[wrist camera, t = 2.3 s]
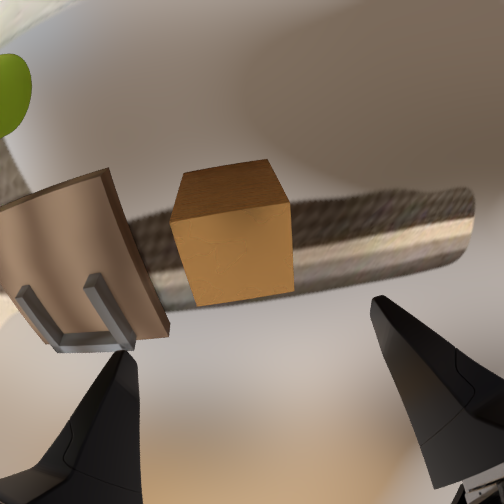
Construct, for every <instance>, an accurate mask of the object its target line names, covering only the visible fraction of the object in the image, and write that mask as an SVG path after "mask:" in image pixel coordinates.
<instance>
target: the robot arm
mask: <svg viewBox="0 0 504 504" xmlns="http://www.w3.org/2000/svg"><path fill="white" fill-rule="evenodd" d="M370 317H371V321H372V323H373V327H374V330H375V333H376V335H377V339H378V342H379V345H380V348H381V351H382V354H383V357H384V359H385V361H386V363H387V366H388V368H389V370H390V372H391V375H392V377H393V380H394V382H395V384H396V387H397V389H398V392H399V394H400V396H401V398H402V401H403V404H404V406H405V408H406V411H407V414H408V416H409V418H410V421H411V424H412V427H413V429H414V432H415V434H416V437H417V440H418V443H419V445H420V448H421V451H422V454H423V457H424V459H425V463H426V466H427V469H428V472H429V475H430V478H431V481H432V484H433V487H434V489H438V488H441V487H445V486H447V485H450V484H453V483H456V482H459V481H462V482H463V483H462V484H461V485H460V487H459V489H458V491H457V493H456V495H455V497H454V499H453V501H452V503H451V504H504V379H503V378H501V377H499V376H498V375H496V374H494V373H493V372H491V371H489V370H488V369H486V368H484V367H483V366H481V365H480V364H478V363H477V362H475V361H474V360H472V359H471V358H469V357H468V356H466V355H465V354H464V353H463V352H461V351H460V350H459V349H457V348H455V347H454V346H453V345H452V344H451V343H449V342H447V340H445V339H444V338H443V337H441V336H440V335H439V334H437V333H436V332H435V331H433V330H432V329H430V328H429V327H428V326H426V325H425V324H424V323H422V322H421V321H419V320H418V319H417V318H415V317H414V316H413V315H411V314H410V313H408V312H407V311H405V310H404V309H403V308H401V307H400V306H398V305H397V304H395V303H394V302H393V301H391V300H390V299H389V298H387V297H386V296H384V295H380V296H377V297H374V298H373V299H372V303H371V309H370ZM139 414H140V397H139V383H138V367H137V363H136V361H135V360H134V359H133V357H132V356H131V355H130V354H129V353H128V352H127V351H126V350H117V351H115V352H114V354H113V355H112V356H111V358H110V359H109V361H108V362H107V363H106V365H105V366H104V368H103V369H102V371H101V372H100V374H99V375H98V377H97V378H96V379H95V381H94V382H93V384H92V385H91V387H90V388H89V390H88V391H87V393H86V394H85V396H84V397H83V399H82V401H81V402H80V403H79V405H78V407H77V408H76V410H75V411H74V413H73V414H72V416H71V417H70V420H68V422H67V423H66V425H65V427H64V428H63V430H62V431H61V433H60V434H59V436H58V437H57V438H56V440H55V441H54V443H53V444H52V445H51V447H50V448H49V449H48V451H47V452H46V453H45V455H44V456H43V457H42V459H41V460H40V461H39V462H38V464H36V465H35V466H34V467H32V468H30V469H28V470H25V471H22V472H20V473H17V474H14V475H11V476H8V477H5V478H2V479H0V504H143V499H142V488H141V471H140V443H139V442H140V440H139V439H140V435H139V434H140V432H139V424H140V423H139V422H140V420H139V418H140V415H139Z"/></svg>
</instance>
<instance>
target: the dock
mask: <svg viewBox="0 0 504 504" xmlns="http://www.w3.org/2000/svg"><path fill="white" fill-rule="evenodd" d="M0 283H1V285H2V286H3V288H4V289H5V291H6V292H7V294H8V295H9V297H10V298H11V300H12V301H13V303H14V304H15V306H16V307H17V308H18V310H19V311H20V313H21V314H22V315H23V316H24V318H25V319H26V320H27V322H28V323H29V324H30V326H31V327H32V328H33V329H34V331H35V332H36V333H37V335H38V336H39V337H40V338H41V339H42V341H43V342H44V343H45V344H50V345H51V346H52V347H53V349H54V350H55V351H56V352H57V353H93V352H115V351H117V350H126V351H134V349H135V343H136V340H143V339H154V338H165V337H169V332H170V322H169V320H168V318H167V315H166V313H165V311H164V309H163V307H162V305H161V303H160V300H159V298H158V296H157V294H156V292H155V289H154V287H153V285H152V283H151V280H150V278H149V276H148V273H147V271H146V269H145V266H144V264H143V261H142V259H141V256H140V254H139V252H138V249H137V247H136V244H135V241H134V239H133V236H132V234H131V231H130V228H129V226H128V223H127V220H126V218H125V215H124V212H123V209H122V207H121V204H120V201H119V198H118V195H117V192H116V189H115V186H114V183H113V180H112V176H111V173H110V170H109V168H105V169H102V170H98V171H95V172H92V173H89V174H86V175H83V176H80V177H76V178H73V179H71V180H67V181H65V182H62V183H59V184H56V185H53V186H51V187H48V188H45V189H43V190H40V191H38V192H35V193H32V194H30V195H27V196H25V197H23V198H20V199H18V200H15V201H13V202H11V203H9V204H6V205H4V206H2V207H0Z"/></svg>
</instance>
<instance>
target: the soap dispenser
mask: <svg viewBox="0 0 504 504" xmlns="http://www.w3.org/2000/svg"><path fill="white" fill-rule="evenodd" d="M31 91H32V81H31V75H30V71H29V68H28V66H27V64H26V62H25V61H24V60H23V59H22V58H21V57H19V56H18V55H15V54H2V55H0V138H2V137H4V136H6V135H8V134H10V133H11V132H13V131H14V130H15V129H16V128H17V127H18V126H19V125H20V123H21V122H22V120H23V118H24V116H25V114H26V112H27V110H28V107H29V103H30V99H31Z"/></svg>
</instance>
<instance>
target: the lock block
mask: <svg viewBox="0 0 504 504" xmlns="http://www.w3.org/2000/svg"><path fill="white" fill-rule="evenodd" d="M169 223H170V226H171V229H172V233H173V236H174V239H175V242H176V245H177V248H178V252H179V255H180V258H181V261H182V264H183V267H184V270H185V273H186V276H187V279H188V282H189V285H190V287H191V290H192V293H193V296H194V299H195V302H196V304H197V307H198V306H205V305H212V304H219V303H225V302H232V301H238V300H245V299H251V298H257V297H263V296H269V295H275V294H281V293H287V292H292V291H294V272H293V249H292V230H291V212H290V202H289V200H288V198H287V196H286V194H285V192H284V190H283V188H282V186H281V184H280V182H279V180H278V178H277V176H276V175H275V173H274V171H273V169H272V167H271V165H270V163H269V161H268V159H263V160H256V161H249V162H242V163H236V164H230V165H223V166H218V167H212V168H206V169H201V170H196V171H190V172H185V173H184V174H183V177H182V180H181V183H180V187H179V190H178V194H177V197H176V200H175V204H174V208H173V211H172V215H171V218H170V222H169Z"/></svg>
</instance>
